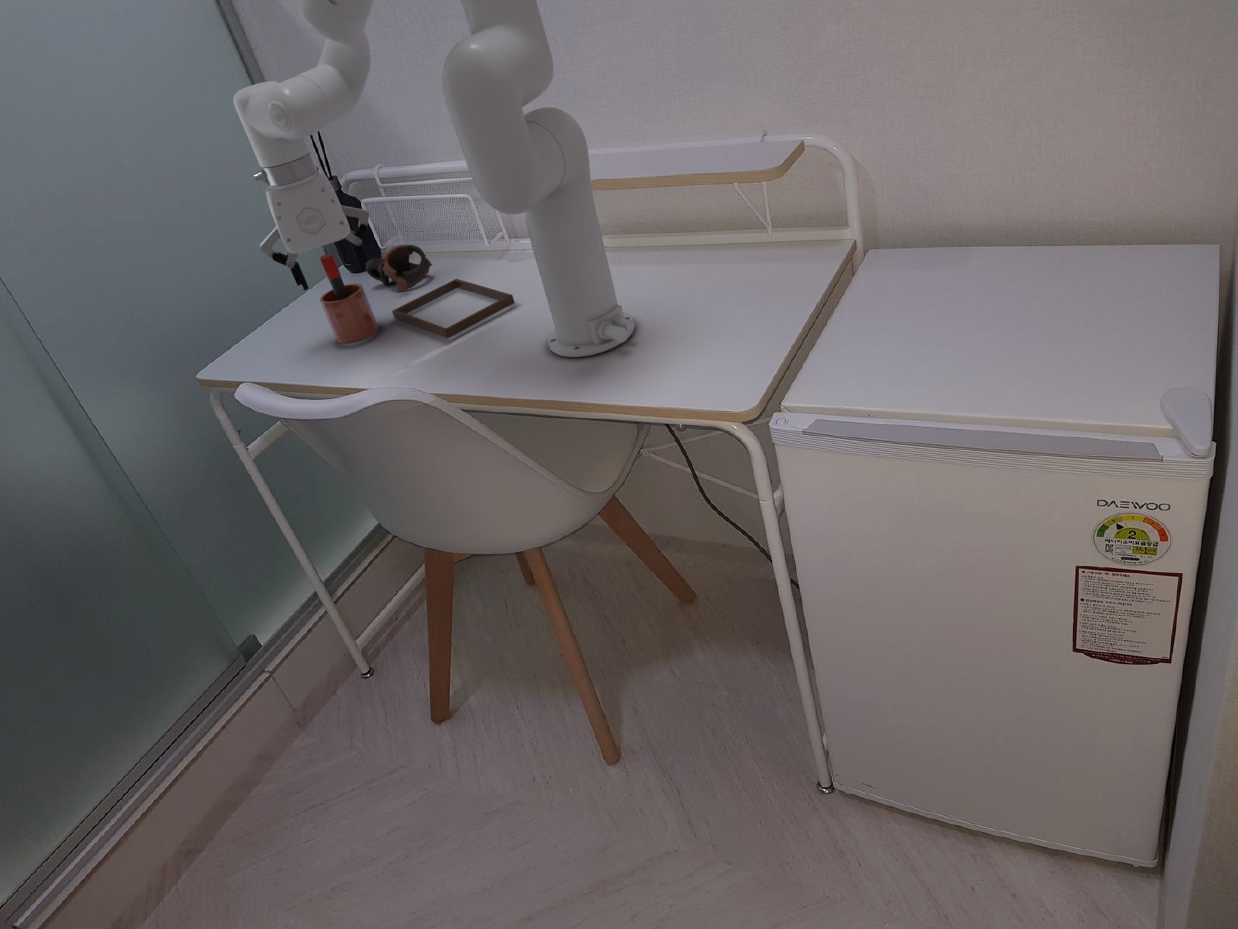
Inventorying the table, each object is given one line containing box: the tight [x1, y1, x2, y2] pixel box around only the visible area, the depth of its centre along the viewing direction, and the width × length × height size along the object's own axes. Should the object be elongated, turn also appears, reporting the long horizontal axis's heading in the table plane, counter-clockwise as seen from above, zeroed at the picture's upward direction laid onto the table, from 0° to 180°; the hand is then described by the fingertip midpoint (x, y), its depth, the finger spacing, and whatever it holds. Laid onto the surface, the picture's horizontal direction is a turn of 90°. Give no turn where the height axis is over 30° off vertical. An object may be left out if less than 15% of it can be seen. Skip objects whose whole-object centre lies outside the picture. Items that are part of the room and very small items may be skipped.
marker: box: [319, 253, 349, 300], centre depth 148 cm, size 2×2×14 cm
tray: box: [391, 278, 517, 343], centre depth 151 cm, size 17×13×2 cm
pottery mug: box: [365, 244, 433, 293], centre depth 166 cm, size 12×10×8 cm
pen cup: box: [319, 283, 379, 344], centre depth 150 cm, size 7×7×8 cm
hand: (334, 277), depth 146 cm, fingers open, 9 cm apart
